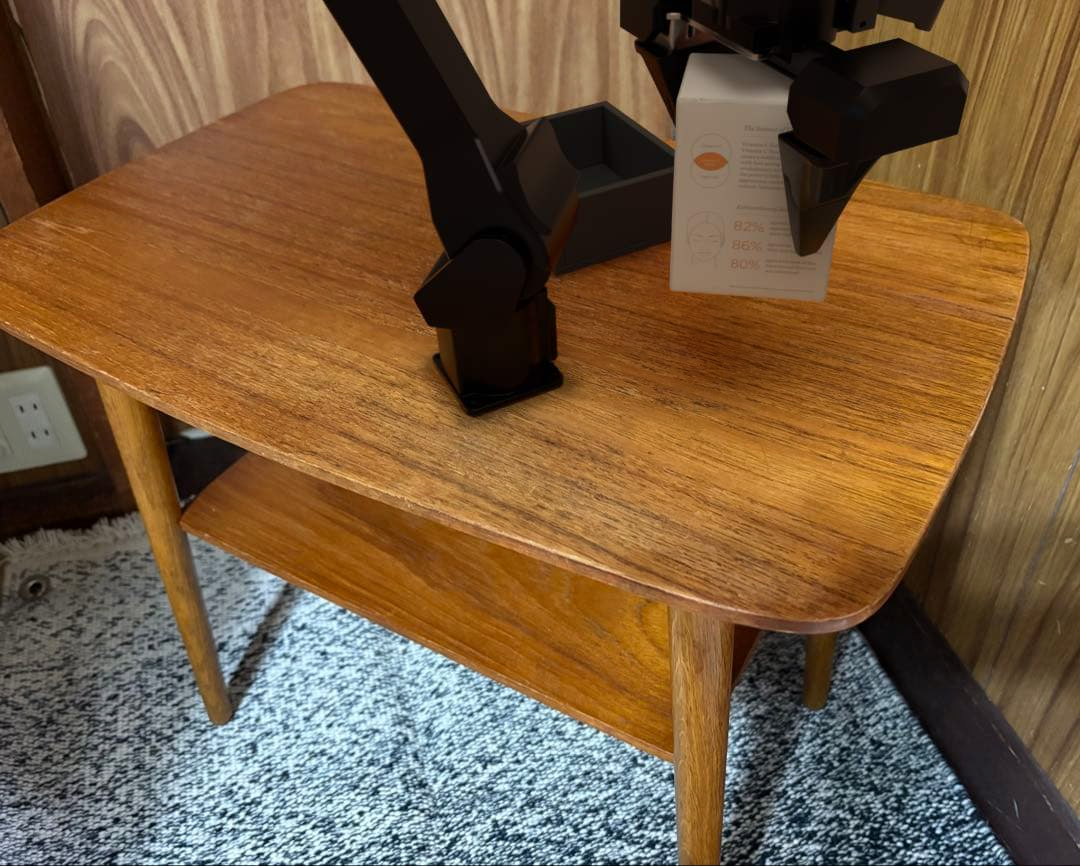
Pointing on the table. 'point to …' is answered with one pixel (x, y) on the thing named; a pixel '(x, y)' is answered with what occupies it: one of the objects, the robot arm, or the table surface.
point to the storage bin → (613, 184)
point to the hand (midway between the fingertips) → (754, 214)
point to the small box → (736, 186)
